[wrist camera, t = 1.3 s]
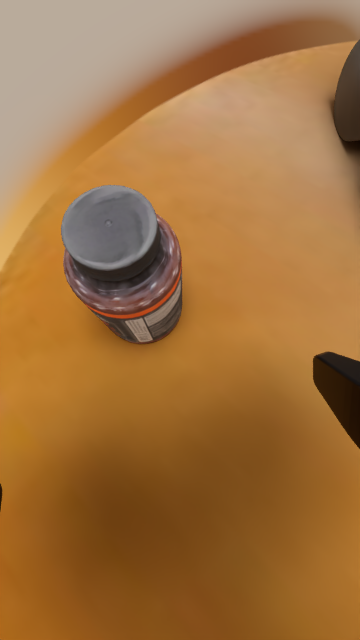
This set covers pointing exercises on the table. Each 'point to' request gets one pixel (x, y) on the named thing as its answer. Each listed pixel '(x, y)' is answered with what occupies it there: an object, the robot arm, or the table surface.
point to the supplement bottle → (123, 262)
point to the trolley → (349, 98)
